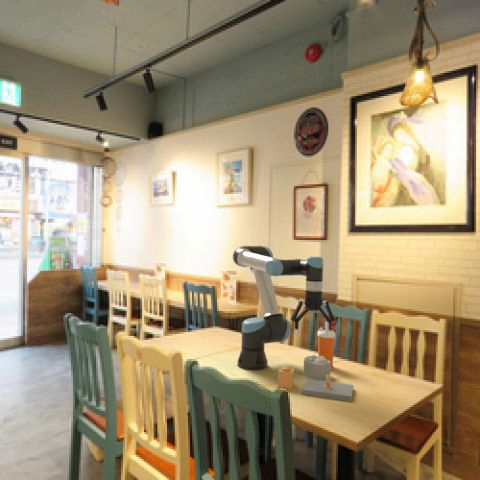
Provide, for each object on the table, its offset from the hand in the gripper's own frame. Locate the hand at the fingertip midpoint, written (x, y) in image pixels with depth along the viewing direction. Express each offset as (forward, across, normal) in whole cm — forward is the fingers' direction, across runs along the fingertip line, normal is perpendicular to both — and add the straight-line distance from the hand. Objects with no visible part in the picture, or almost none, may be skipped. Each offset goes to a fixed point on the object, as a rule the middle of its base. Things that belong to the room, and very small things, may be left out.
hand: (312, 336), depth 186 cm
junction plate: (+20, +2, -15) cm, 25 cm away
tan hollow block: (+20, -14, -7) cm, 25 cm away
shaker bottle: (+20, +14, +18) cm, 31 cm away
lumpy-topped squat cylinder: (+20, +4, +6) cm, 22 cm away
